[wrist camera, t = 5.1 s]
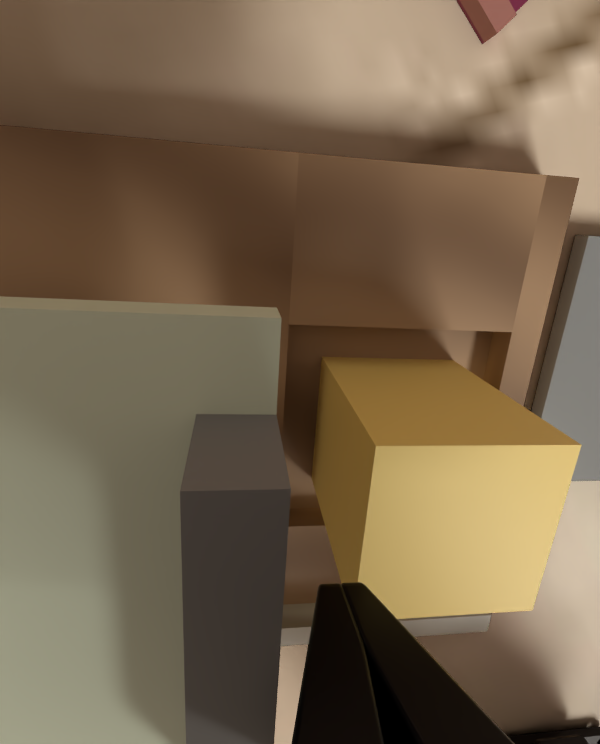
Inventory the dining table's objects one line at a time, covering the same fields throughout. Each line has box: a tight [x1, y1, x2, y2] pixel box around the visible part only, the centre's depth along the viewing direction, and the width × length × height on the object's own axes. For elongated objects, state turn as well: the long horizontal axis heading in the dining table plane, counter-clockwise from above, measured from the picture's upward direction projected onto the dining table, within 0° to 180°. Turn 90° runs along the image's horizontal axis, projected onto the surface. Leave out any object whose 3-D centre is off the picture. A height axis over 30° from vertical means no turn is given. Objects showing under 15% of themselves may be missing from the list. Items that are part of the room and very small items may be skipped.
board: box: [0, 125, 579, 646], centre depth 14 cm, size 16×17×2 cm
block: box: [312, 357, 582, 619], centre depth 13 cm, size 4×4×6 cm
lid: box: [0, 296, 291, 744], centre depth 9 cm, size 11×9×8 cm
